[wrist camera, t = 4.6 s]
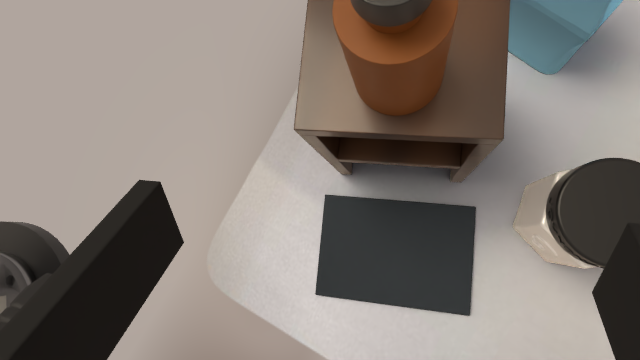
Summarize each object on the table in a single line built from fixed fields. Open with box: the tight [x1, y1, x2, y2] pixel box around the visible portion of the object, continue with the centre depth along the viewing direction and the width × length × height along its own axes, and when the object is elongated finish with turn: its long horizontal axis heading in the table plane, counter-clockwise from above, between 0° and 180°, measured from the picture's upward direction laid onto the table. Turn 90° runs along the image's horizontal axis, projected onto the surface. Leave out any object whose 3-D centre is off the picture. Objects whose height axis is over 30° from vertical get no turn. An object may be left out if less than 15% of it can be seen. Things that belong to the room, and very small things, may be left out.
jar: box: [513, 158, 640, 269], centre depth 36 cm, size 9×8×12 cm
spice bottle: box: [332, 0, 458, 116], centre depth 21 cm, size 6×6×11 cm
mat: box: [316, 195, 476, 316], centre depth 44 cm, size 16×11×1 cm
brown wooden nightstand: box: [294, 0, 510, 182], centre depth 36 cm, size 13×10×20 cm
